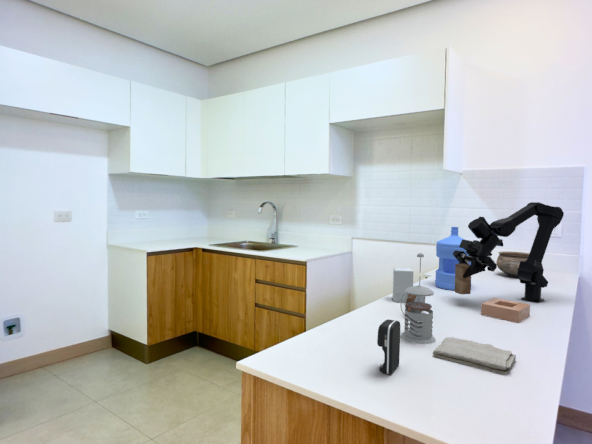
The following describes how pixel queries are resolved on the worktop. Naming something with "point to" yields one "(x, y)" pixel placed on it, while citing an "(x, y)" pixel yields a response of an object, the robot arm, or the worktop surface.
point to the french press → (418, 315)
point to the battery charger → (389, 344)
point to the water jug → (448, 260)
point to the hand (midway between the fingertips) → (459, 276)
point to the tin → (415, 300)
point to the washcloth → (475, 355)
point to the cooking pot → (511, 262)
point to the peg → (462, 279)
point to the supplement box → (401, 283)
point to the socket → (505, 310)
